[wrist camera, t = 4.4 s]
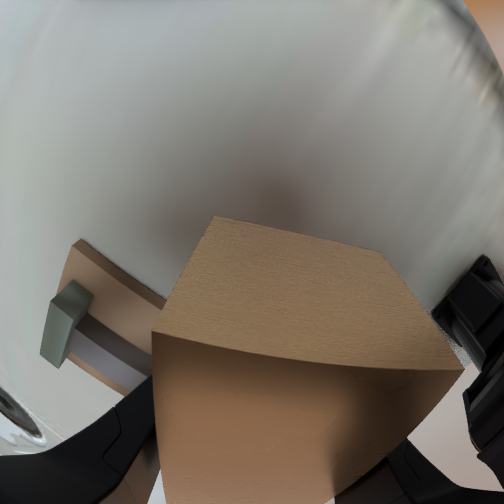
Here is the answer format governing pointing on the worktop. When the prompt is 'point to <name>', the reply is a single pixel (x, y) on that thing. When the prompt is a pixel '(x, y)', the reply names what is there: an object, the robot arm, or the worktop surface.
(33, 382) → the worktop surface
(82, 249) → the rail board
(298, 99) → the worktop surface
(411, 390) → the block
